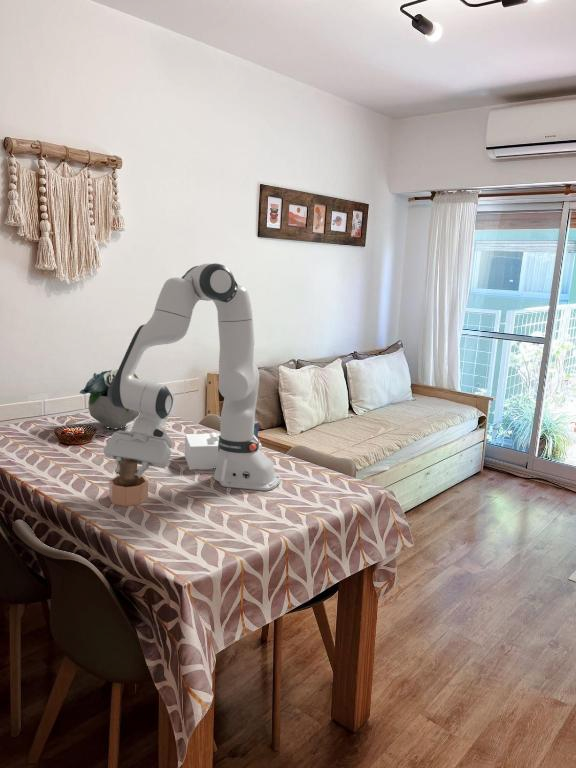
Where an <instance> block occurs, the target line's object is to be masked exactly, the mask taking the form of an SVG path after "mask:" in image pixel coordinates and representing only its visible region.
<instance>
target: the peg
mask: <svg viewBox="0 0 576 768" xmlns="http://www.w3.org/2000/svg"><path fill="white" fill-rule="evenodd" d="M136 470H138V464H137V461H134V460H123V461H121V462H120V467H119V474H118V476H119V486H122V487H132V486H137V477H135V476H134V473H135V471H136Z"/></svg>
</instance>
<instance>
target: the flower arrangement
mask: <svg viewBox="0 0 576 768" xmlns="http://www.w3.org/2000/svg"><path fill="white" fill-rule="evenodd" d="M117 371H118V369H114V370H104V371H103V370H102V371H101V373H100V372H99V373H96V372H94V373H93V375H92V378H90V379H89V380H88V381H87V382H86V384H85V387H84V388H83V389H81V390H80V391H79V394H82V395H86V394H90V395H89V397H88V411H89V414H90V417H92V418H93V419H94V420H95V421H96V422H98V423H101V424H102V425H103V427H104V426H105V427H109V428H121V427H125V426H126V427H127V424H129V423H131V422H133V421H134V420H136V419H137V417H138V416H139V414H140V412H138V411H134V410H130V409H124V408H118V407H115V406H114V405H113V404H112V403H111V401H110V400H109V398H108V395H107V393H108V388H109V386H110V383H111V382H112V380H113V378H114V376H115V375H116V373H117ZM134 377H135V378H138V379H140V378H139V377H138V375H136V372H134ZM105 427H104V428H105ZM126 427H125V428H126Z"/></svg>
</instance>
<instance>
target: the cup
mask: <svg viewBox="0 0 576 768" xmlns="http://www.w3.org/2000/svg"><path fill="white" fill-rule="evenodd" d="M108 481H109V485H108V495H109V497H108V499H109V501H110V502H111V504H112V505H117V506H123V507H129V506H136V505H141V504H143V503H144V502H146V501H147V500H148V498H149V480H148V479H147V478H146V477H145V476H144V475H141V477H140V478H137V486H132V487H122V486H119V475H116V476H115V477H113V478H111V479H110V480H108Z"/></svg>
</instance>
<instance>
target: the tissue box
mask: <svg viewBox="0 0 576 768" xmlns="http://www.w3.org/2000/svg"><path fill="white" fill-rule="evenodd" d="M184 436H185V437H184V458H185V461H186V463H187V467H188V466H189V467H188V470H189V471H193V469H194V470H195V469H199V470H216V469H215V468H216V466H217V461H218V455H219V452H218V441H219V436H220V433H216V432H211V433H187V434H185V435H184ZM254 438H255V439H256V440H257V441H258V440H259V438H258V439H257V438H256V437H255V436H254ZM262 445H263V444H262V443H261V442H260V443H259V448H258V449H259V450H260V451H261V452H262ZM213 468H214V469H213ZM195 471H196V470H195Z"/></svg>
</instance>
